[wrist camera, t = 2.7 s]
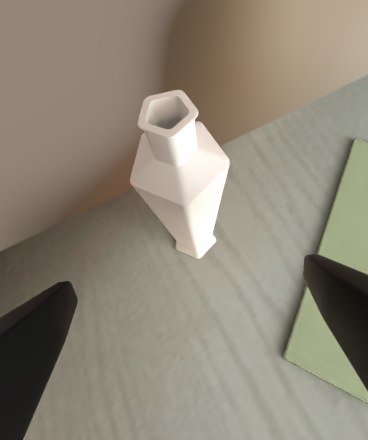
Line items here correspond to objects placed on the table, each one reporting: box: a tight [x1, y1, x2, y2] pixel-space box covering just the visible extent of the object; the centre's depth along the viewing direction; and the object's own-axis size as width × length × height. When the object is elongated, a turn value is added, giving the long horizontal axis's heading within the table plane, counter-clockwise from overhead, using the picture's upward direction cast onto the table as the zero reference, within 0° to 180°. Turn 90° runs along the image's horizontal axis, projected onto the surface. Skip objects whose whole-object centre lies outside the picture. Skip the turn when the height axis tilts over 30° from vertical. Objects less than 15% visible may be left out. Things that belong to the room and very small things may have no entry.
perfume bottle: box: [130, 90, 230, 259], centre depth 15 cm, size 5×4×15 cm
